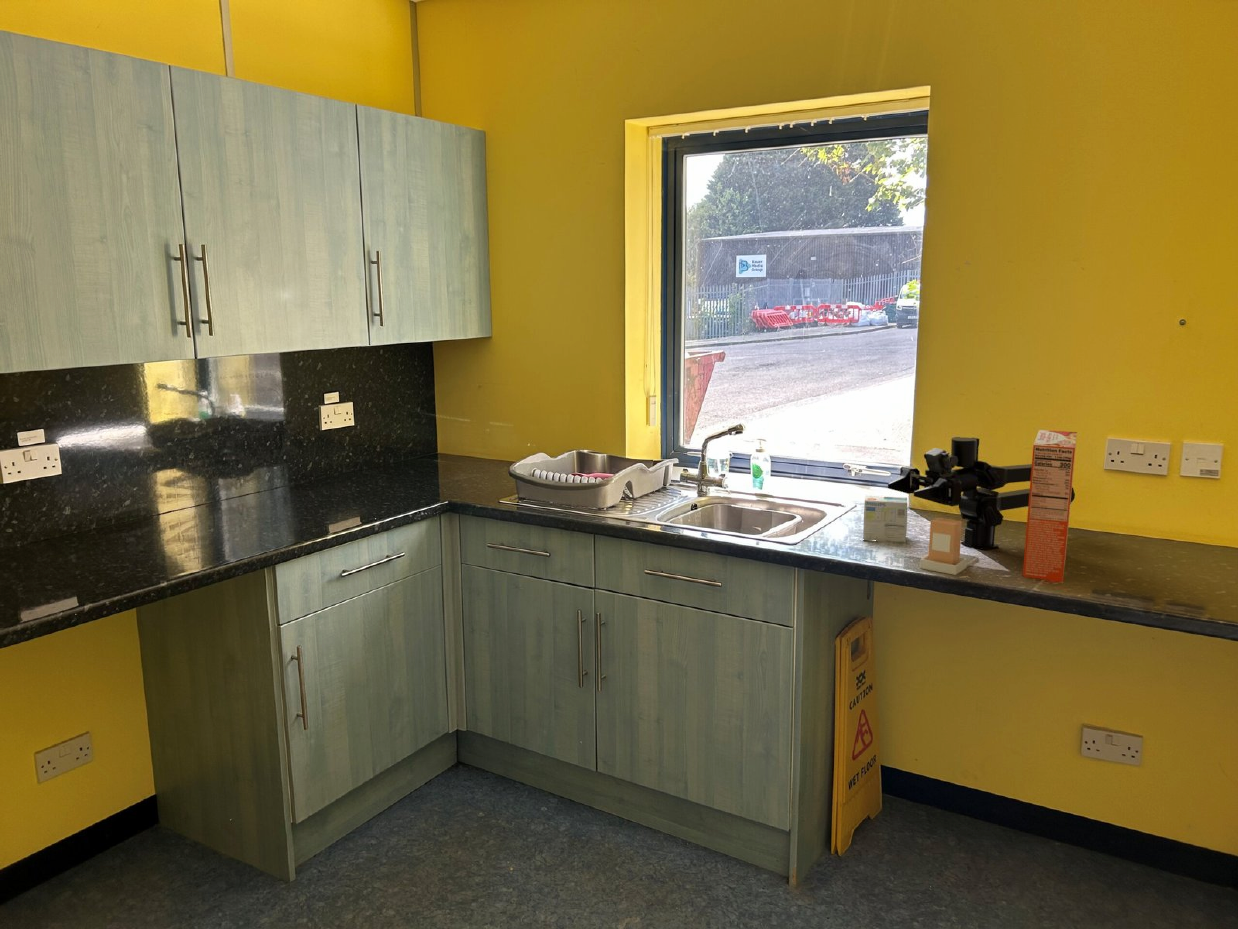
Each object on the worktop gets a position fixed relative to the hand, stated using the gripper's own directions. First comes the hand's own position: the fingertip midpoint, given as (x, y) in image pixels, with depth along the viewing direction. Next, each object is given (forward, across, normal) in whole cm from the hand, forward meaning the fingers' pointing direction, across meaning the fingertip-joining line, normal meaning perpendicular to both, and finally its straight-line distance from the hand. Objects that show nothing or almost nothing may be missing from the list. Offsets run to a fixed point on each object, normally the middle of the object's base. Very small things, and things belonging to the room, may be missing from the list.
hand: (900, 490), depth 218 cm
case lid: (-10, +8, +17) cm, 21 cm away
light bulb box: (-7, -15, +17) cm, 24 cm away
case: (-3, +12, +17) cm, 21 cm away
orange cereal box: (-26, +19, +18) cm, 37 cm away
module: (-3, +12, +16) cm, 20 cm away
